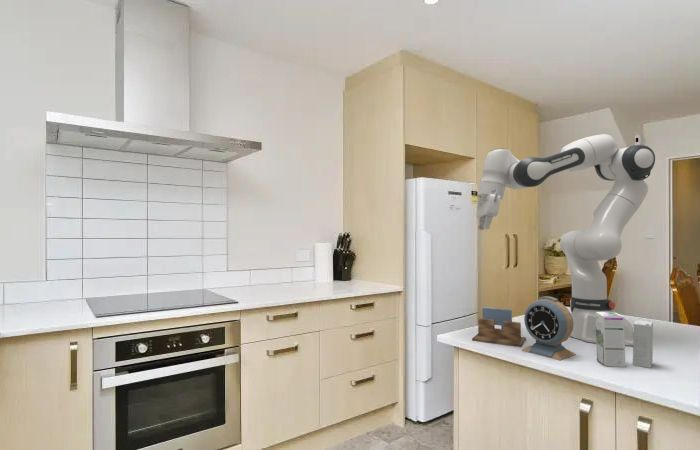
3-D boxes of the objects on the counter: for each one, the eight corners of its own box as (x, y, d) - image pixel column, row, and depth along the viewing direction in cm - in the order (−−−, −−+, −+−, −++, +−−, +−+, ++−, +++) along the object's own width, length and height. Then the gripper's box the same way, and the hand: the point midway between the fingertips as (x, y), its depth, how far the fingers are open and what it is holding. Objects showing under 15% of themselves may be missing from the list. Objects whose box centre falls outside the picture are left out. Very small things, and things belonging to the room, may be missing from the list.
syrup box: (626, 367, 115) (625, 315, 116) (603, 366, 116) (602, 314, 117) (617, 361, 121) (617, 311, 121) (595, 360, 122) (595, 311, 122)
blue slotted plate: (512, 333, 153) (511, 309, 154) (511, 334, 152) (511, 310, 152) (483, 330, 159) (483, 307, 159) (482, 331, 157) (482, 307, 158)
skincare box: (634, 360, 122) (634, 319, 122) (653, 363, 119) (653, 321, 119) (632, 365, 117) (631, 322, 117) (651, 368, 114) (651, 325, 114)
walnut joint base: (526, 339, 145) (525, 320, 145) (520, 347, 136) (520, 326, 136) (480, 333, 153) (479, 315, 154) (472, 340, 144) (472, 321, 144)
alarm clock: (518, 350, 132) (518, 295, 133) (535, 345, 138) (535, 292, 138) (563, 361, 121) (562, 301, 121) (579, 355, 127) (578, 298, 127)
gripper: (507, 190, 139) (499, 230, 138) (493, 197, 159) (486, 232, 159) (488, 186, 139) (480, 226, 139) (477, 194, 160) (469, 228, 159)
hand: (483, 229), depth 149 cm, fingers open, 8 cm apart
